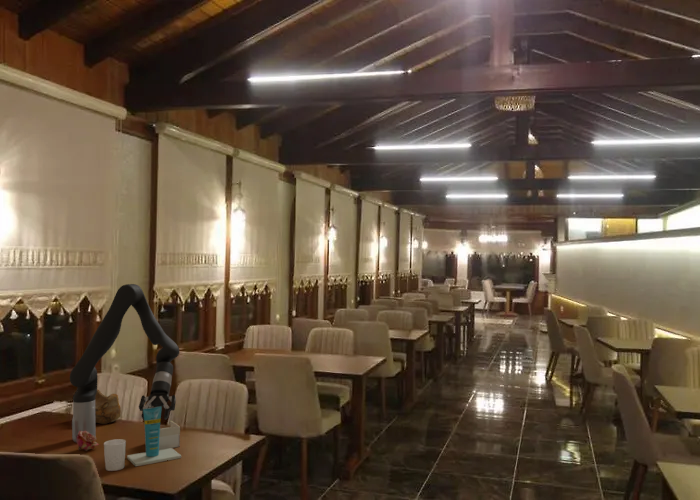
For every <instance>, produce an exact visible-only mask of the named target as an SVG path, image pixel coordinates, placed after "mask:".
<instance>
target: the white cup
mask: <svg viewBox="0 0 700 500" xmlns="http://www.w3.org/2000/svg"><path fill="white" fill-rule="evenodd" d="M126 444H127V440H126V439H122V438H121V439H119V438H118V439H117V438H116V439H110V440H106V441H105V442H103V451H104V452H103V453H104V456H103V457H104V464H105V466H104V467H105V470H106V471H109V472H113V471H120V470H123V469H124V468H125V462H126V461H125V460H126V448H127V447H126Z"/></svg>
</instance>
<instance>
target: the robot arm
mask: <svg viewBox="0 0 700 500" xmlns="http://www.w3.org/2000/svg"><path fill="white" fill-rule="evenodd" d="M130 307H132V308H133V309H134V310H135V311H136V313H137V315H138V318H139V320H140V323H141V326H142V329H143V332H144V333H145V335H146V336H147V338H148V339H149V341H150V343H151V344H152V345H154V346H157V345H160V347H162V348H160V350H159V349H158V351H157V353H156V357H155V360H156V362H155V364H156V369H155V374H154V377H153V380H152V385H151V390H150V394H149V395H148V396H145V395H144V394H143V395H141V398H140V400H139V401H140V402H139V405H138V409H139V411H140V412H141V418H142V419H143V421H144V414H143V409H148V408H155V407H160V406H162V407H163V408H164V409H165V410H164V415H163V419H164V420H165V421H166V420H167V419H168V418H169V416H170V412H171V411H175V410H176V400H177V398H176V395H175V394H172V395H171V396H170V390H171V387H172V379H173V373H174V365H173V364H172V363H171V362H172V361H174V360H175V359H176V358H177V357H178V356H179V355H180V348H179V346H178V345H177V343H176V342H175V341H174V340H173V339H172V338H171V337H169V335H167V334H166V332H165V331H164V329H163V328H162V326H161V324H160V323H159V322H158V319H157V318H156V317H155V315H154V312H153V311H152V308H151V307H150V305H149V302H148V300H147V298H146V296H145V293H144V291H143V289H142V287H141V286H139V285H138V284H136V283H135V284H134V283H128V284H124V285H121V286H120V287H119V288H118V289H117V290H116V292H115V294H114V297H113V300H112V303H111V305H110V307H109V308H108V310H107V312H106V314H105V315H104V317H103V319H102V320H101V322H100V323H99V325H98V327H97V328H96V330H95V332H94V333H93V335H92V337H91V339H90V341H89V343H88V345H87V346H86V348H85V350H84V352H83V353H82V355H81V357H80V359H78V361H77V362H76V364H75V365H74V367H73V368H72V369H71V371H70V373H69V382H70V384H71V385H72V386H74V387H75V388H76V391H75V392H74V394H73V396H72V413H73V414H72V418H71V420H72V421H71V428H72V429H71V432H72V437H71V438H72V441H73V442H74V443H77V439H76V436H77V434H78V433H79V431H87V432H89V433H90V434H91V435H93V436H94V437H96V435H97V434H96V433H97V432H96V422H95V396H96V393H97V389H98V381H99V380H98V379H99V378H98V377H99V376H98V371H97V368H96V366H97V363H98V362H99V361H100V360H101V359H102V358H103V357H104V355H105V354H106V353H107V352H108V351H109V350H110V349H111V347H112V346H113V345H114V343H115V342H116V339H117V338H118V336H119V334H120V332H121V327H122V322H123V319H124V316H125V314H126V313H127V312H128V310H129V309H130ZM169 401H170V402H171V403H170V406H169V405H168V403H167V402H169ZM145 403H146V404H145ZM96 438H97V437H96Z"/></svg>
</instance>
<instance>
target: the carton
mask: <svg viewBox="0 0 700 500" xmlns="http://www.w3.org/2000/svg"><path fill="white" fill-rule="evenodd" d="M180 434H181V426H180V425H178V424H177V423H176V422H174V421H172V420H169V426H168V427H163V428H160V437H159V450H161V449H167V448H172V449H174V448H179V447H180V444H181V443H180V442H181V441H180V439H181V438H180V436H181V435H180ZM144 444H145V445H146V440H145V439H144Z"/></svg>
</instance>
